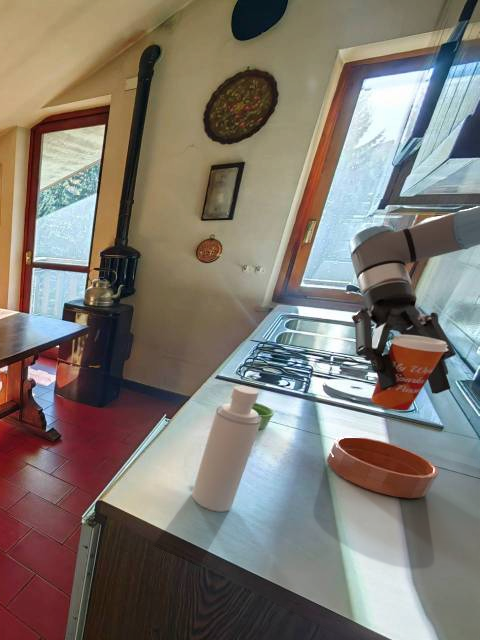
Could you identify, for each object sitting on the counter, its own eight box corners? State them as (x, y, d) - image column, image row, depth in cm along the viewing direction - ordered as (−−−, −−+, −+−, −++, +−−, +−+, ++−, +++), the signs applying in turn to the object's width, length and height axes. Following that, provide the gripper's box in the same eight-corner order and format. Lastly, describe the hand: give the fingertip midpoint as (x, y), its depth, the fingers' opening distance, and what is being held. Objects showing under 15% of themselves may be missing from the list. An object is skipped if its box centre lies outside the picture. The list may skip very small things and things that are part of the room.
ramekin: (261, 434, 99) (266, 419, 97) (223, 420, 106) (227, 405, 104) (274, 424, 104) (279, 409, 102) (237, 412, 111) (241, 398, 109)
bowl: (425, 479, 82) (438, 457, 80) (423, 511, 73) (438, 487, 71) (332, 449, 93) (341, 429, 91) (320, 474, 83) (329, 452, 81)
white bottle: (235, 500, 75) (277, 381, 65) (225, 517, 71) (268, 392, 61) (197, 484, 79) (231, 370, 70) (186, 499, 75) (220, 380, 65)
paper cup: (370, 407, 79) (400, 340, 73) (359, 393, 85) (386, 331, 79) (424, 416, 75) (460, 347, 70) (409, 402, 81) (441, 337, 76)
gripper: (426, 303, 85) (459, 400, 77) (319, 298, 89) (339, 391, 80) (462, 282, 78) (502, 386, 70) (343, 278, 82) (368, 376, 73)
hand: (414, 388), depth 75 cm, fingers closed on paper cup, 8 cm apart
